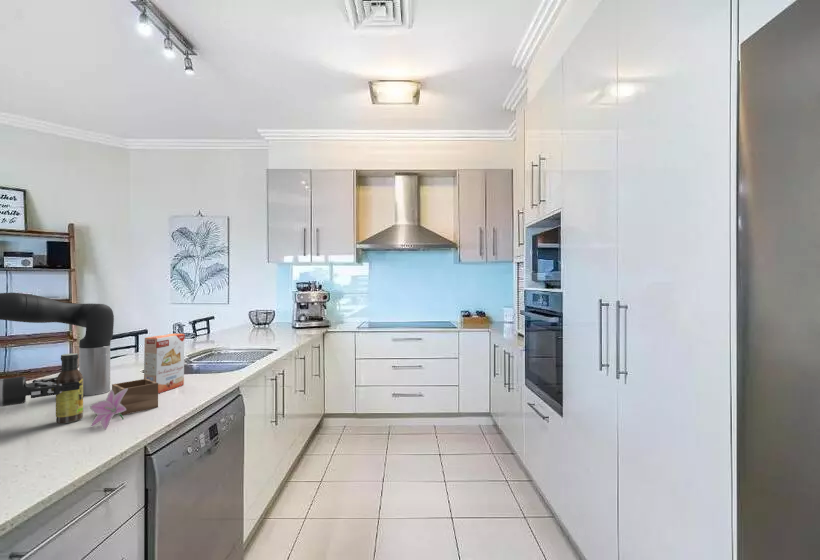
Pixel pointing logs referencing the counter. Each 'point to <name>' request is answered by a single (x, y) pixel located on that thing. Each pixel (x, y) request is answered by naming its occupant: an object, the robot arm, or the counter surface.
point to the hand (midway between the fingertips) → (78, 382)
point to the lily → (108, 408)
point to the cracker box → (165, 360)
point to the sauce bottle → (69, 401)
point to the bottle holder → (138, 395)
